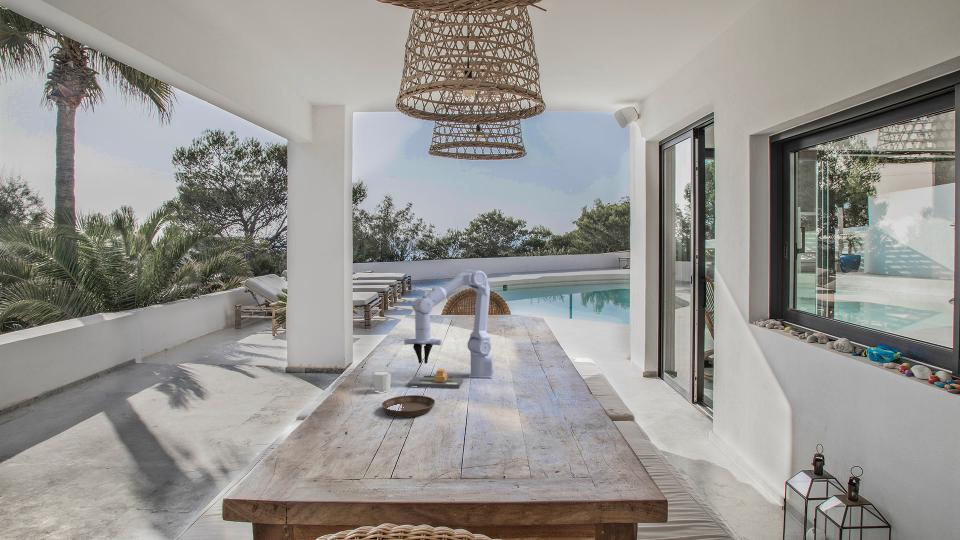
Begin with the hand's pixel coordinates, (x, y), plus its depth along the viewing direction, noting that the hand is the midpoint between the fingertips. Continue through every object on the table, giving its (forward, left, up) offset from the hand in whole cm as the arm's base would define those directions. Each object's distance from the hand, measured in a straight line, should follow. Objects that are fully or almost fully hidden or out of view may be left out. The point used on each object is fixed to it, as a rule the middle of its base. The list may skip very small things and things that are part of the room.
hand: (423, 363), depth 230 cm
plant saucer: (-3, +34, -9) cm, 35 cm away
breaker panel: (-5, 0, -8) cm, 10 cm away
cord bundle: (-4, -9, -8) cm, 13 cm away
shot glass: (+13, +12, -9) cm, 20 cm away
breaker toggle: (-7, 0, -7) cm, 10 cm away
